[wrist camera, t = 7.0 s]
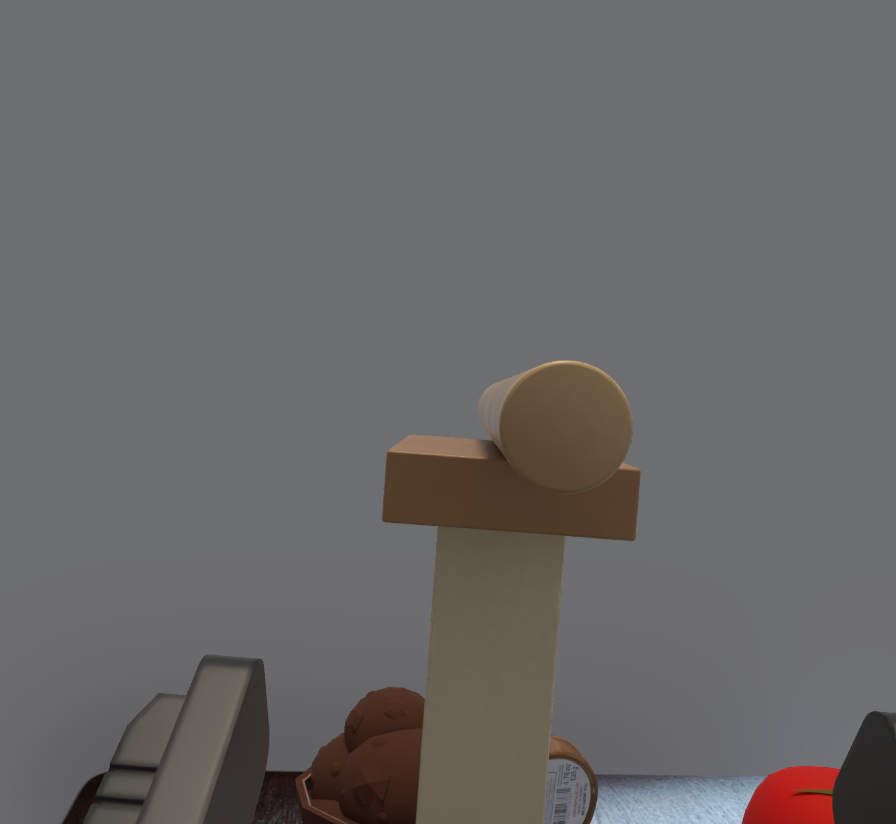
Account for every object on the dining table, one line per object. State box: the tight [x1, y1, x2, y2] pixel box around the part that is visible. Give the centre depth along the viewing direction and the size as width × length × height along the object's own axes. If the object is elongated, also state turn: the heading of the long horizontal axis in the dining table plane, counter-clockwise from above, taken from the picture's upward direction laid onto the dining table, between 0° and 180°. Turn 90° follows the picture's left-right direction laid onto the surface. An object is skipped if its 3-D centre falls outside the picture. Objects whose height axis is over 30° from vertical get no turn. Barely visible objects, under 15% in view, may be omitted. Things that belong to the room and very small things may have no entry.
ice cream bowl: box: [295, 687, 425, 824], centre depth 51 cm, size 11×11×15 cm
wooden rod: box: [478, 360, 633, 494], centre depth 25 cm, size 20×2×2 cm, turn 179°
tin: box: [544, 736, 598, 824], centre depth 62 cm, size 15×3×8 cm, turn 108°
